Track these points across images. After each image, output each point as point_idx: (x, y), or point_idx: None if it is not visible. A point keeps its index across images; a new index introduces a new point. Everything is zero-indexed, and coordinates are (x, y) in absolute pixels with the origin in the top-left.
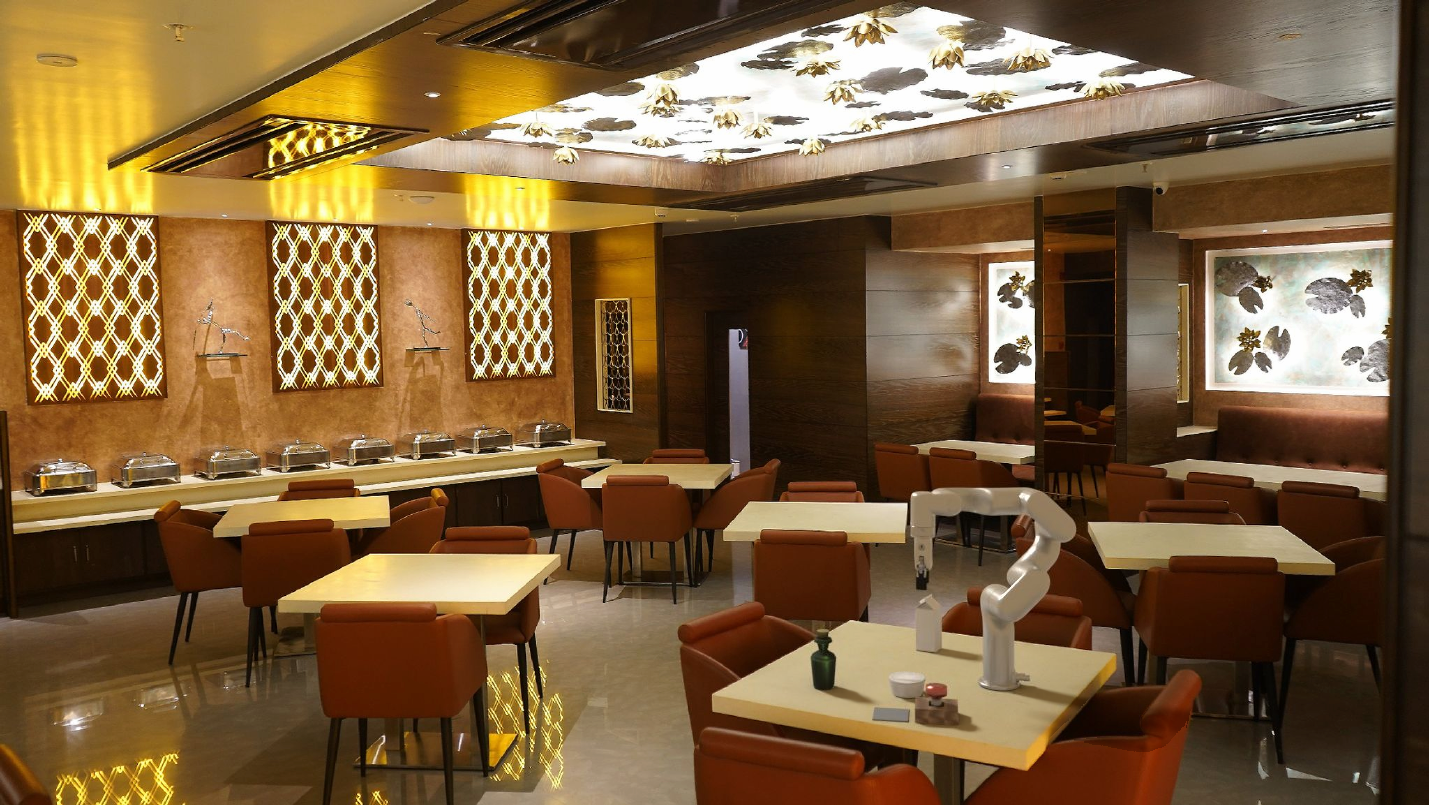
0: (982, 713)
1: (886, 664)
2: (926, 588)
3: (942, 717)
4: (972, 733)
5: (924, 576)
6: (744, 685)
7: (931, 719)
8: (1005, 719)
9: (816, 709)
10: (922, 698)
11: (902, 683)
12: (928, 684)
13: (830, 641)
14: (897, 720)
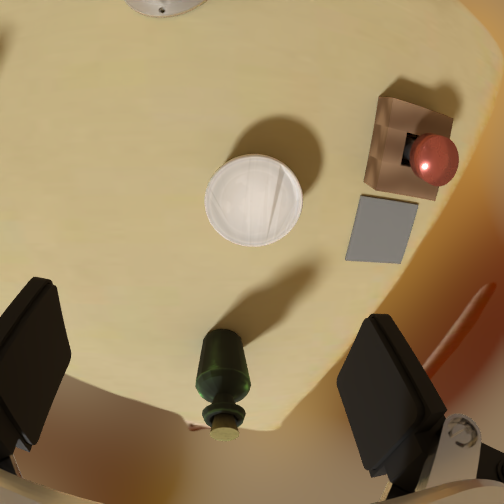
0: (378, 46)
1: (52, 233)
2: (393, 322)
3: None
4: (466, 102)
5: (466, 432)
6: None
7: None
8: (407, 17)
9: (339, 342)
10: (385, 176)
11: (299, 216)
12: (428, 177)
13: (234, 407)
14: (413, 222)
